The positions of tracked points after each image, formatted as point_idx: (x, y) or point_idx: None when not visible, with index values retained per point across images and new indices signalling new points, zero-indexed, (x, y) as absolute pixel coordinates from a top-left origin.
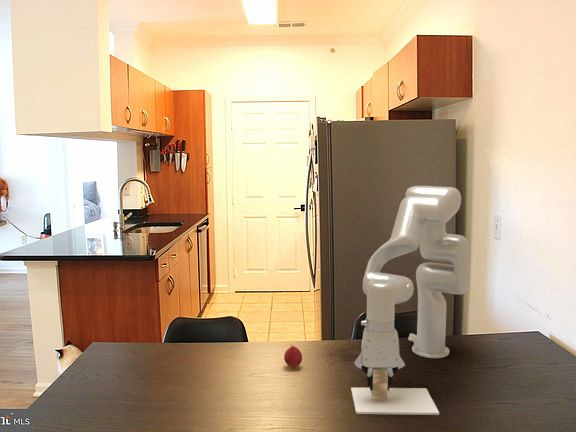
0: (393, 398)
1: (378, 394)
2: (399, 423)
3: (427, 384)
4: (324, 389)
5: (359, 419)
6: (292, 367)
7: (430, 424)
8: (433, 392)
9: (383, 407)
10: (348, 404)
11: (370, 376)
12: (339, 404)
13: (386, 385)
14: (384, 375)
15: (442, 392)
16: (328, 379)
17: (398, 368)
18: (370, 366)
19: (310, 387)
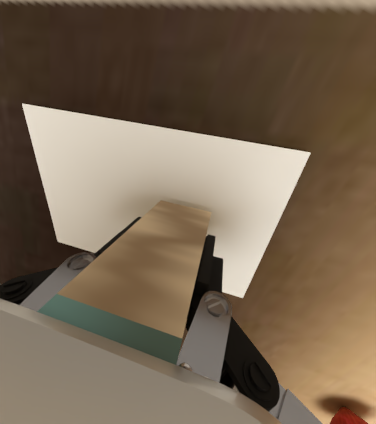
0: (141, 216)
1: (187, 214)
2: (159, 46)
3: (59, 259)
4: (323, 316)
5: (317, 101)
6: (355, 414)
7: (53, 30)
8: (48, 226)
9: (186, 168)
10: (296, 224)
11: (206, 292)
12: (330, 231)
13: (139, 225)
14: (117, 263)
15: (30, 221)
16: (279, 346)
17: (4, 288)
18: (219, 409)
19: (362, 337)
